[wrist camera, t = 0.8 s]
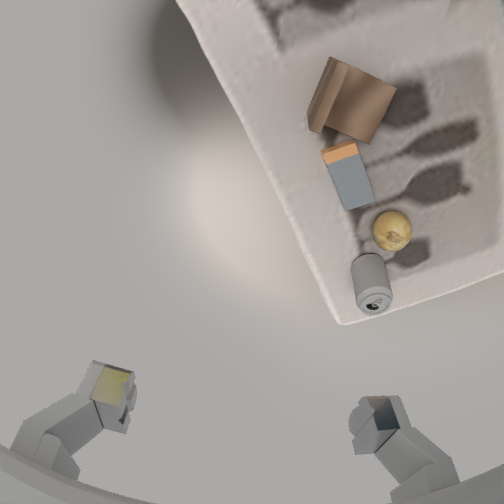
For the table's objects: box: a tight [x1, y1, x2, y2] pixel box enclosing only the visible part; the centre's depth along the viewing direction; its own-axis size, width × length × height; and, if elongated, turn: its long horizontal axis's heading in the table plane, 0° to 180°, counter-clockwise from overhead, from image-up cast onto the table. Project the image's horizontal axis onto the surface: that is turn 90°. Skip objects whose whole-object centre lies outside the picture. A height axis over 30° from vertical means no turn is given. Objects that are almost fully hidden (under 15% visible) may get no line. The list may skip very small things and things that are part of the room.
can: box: [351, 254, 393, 315], centre depth 60 cm, size 8×8×12 cm
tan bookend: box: [307, 57, 397, 144], centre depth 39 cm, size 10×10×10 cm
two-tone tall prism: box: [321, 139, 375, 211], centre depth 51 cm, size 12×6×2 cm, turn 28°
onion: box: [373, 211, 412, 252], centre depth 54 cm, size 8×8×7 cm
